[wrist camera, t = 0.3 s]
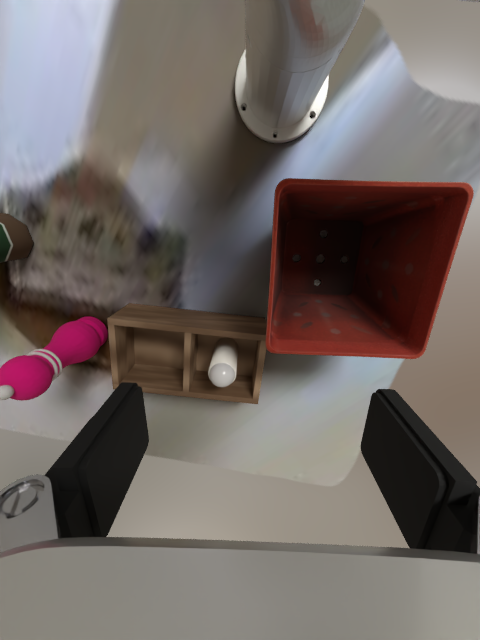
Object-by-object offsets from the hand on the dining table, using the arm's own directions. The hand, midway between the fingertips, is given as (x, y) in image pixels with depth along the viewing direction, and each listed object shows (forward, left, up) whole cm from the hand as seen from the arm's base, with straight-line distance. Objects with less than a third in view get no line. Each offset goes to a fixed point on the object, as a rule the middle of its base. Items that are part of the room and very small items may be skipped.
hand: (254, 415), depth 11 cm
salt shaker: (+15, -3, -36) cm, 39 cm away
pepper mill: (+15, -29, -37) cm, 49 cm away
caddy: (+15, -9, -37) cm, 40 cm away
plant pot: (-3, +11, -37) cm, 39 cm away
